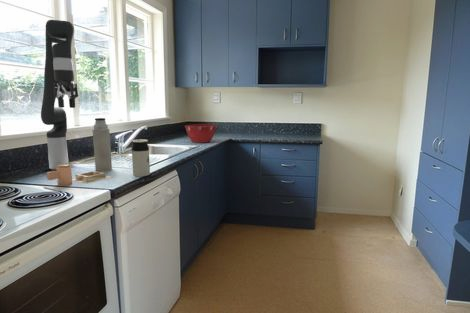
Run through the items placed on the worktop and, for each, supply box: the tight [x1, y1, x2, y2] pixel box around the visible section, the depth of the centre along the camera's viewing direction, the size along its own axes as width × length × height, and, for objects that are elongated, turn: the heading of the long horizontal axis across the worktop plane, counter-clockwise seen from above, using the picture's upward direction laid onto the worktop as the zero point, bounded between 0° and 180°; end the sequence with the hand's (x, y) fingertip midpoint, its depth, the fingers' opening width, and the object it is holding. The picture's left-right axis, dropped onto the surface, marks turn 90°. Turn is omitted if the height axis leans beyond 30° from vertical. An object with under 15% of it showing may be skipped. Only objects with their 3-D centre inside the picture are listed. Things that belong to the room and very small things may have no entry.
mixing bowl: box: [184, 123, 217, 144], centre depth 286 cm, size 28×28×16 cm
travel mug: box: [131, 138, 151, 177], centre depth 157 cm, size 8×8×18 cm
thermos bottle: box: [92, 117, 113, 172], centre depth 166 cm, size 8×8×28 cm
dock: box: [72, 170, 113, 184], centre depth 150 cm, size 14×14×3 cm
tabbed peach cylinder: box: [46, 163, 73, 187], centre depth 136 cm, size 10×6×9 cm, turn 149°
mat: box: [43, 186, 62, 193], centre depth 139 cm, size 12×12×1 cm
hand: (66, 107), depth 141 cm, fingers open, 8 cm apart
